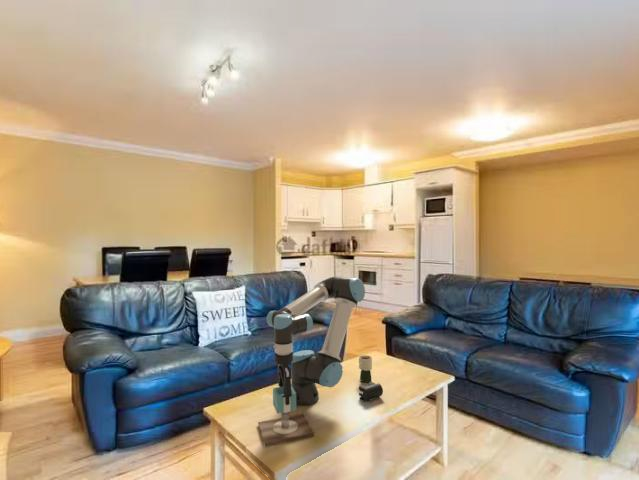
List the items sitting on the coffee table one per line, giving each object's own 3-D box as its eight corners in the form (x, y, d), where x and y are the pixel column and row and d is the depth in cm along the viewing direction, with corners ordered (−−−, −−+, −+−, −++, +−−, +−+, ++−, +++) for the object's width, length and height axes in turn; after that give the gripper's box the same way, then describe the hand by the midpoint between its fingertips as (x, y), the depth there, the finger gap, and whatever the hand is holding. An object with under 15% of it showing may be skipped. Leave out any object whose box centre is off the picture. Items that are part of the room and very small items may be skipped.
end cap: (367, 404, 169) (367, 390, 169) (358, 398, 175) (358, 385, 175) (383, 398, 175) (383, 385, 174) (373, 393, 181) (373, 380, 180)
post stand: (258, 425, 152) (257, 402, 152) (303, 417, 159) (302, 394, 158) (264, 446, 137) (264, 421, 137) (314, 436, 144) (313, 411, 143)
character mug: (366, 375, 202) (365, 353, 202) (376, 379, 198) (376, 356, 197) (354, 382, 194) (354, 358, 194) (365, 385, 190) (364, 361, 189)
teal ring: (273, 404, 150) (272, 388, 150) (291, 401, 153) (291, 385, 153) (277, 413, 143) (276, 396, 142) (296, 410, 145) (296, 393, 145)
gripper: (269, 346, 156) (270, 397, 156) (280, 362, 136) (281, 420, 137) (286, 344, 158) (287, 394, 159) (299, 359, 139) (300, 417, 139)
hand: (284, 406), depth 148 cm, fingers closed on teal ring, 8 cm apart
